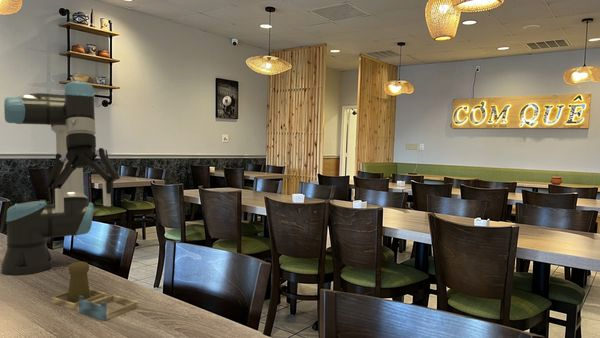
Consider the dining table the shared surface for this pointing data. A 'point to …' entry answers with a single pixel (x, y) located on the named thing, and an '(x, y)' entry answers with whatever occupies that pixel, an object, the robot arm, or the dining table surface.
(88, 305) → the caddy
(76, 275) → the cork
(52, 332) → the dining table surface
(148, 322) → the dining table surface
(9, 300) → the dining table surface
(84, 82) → the robot arm
